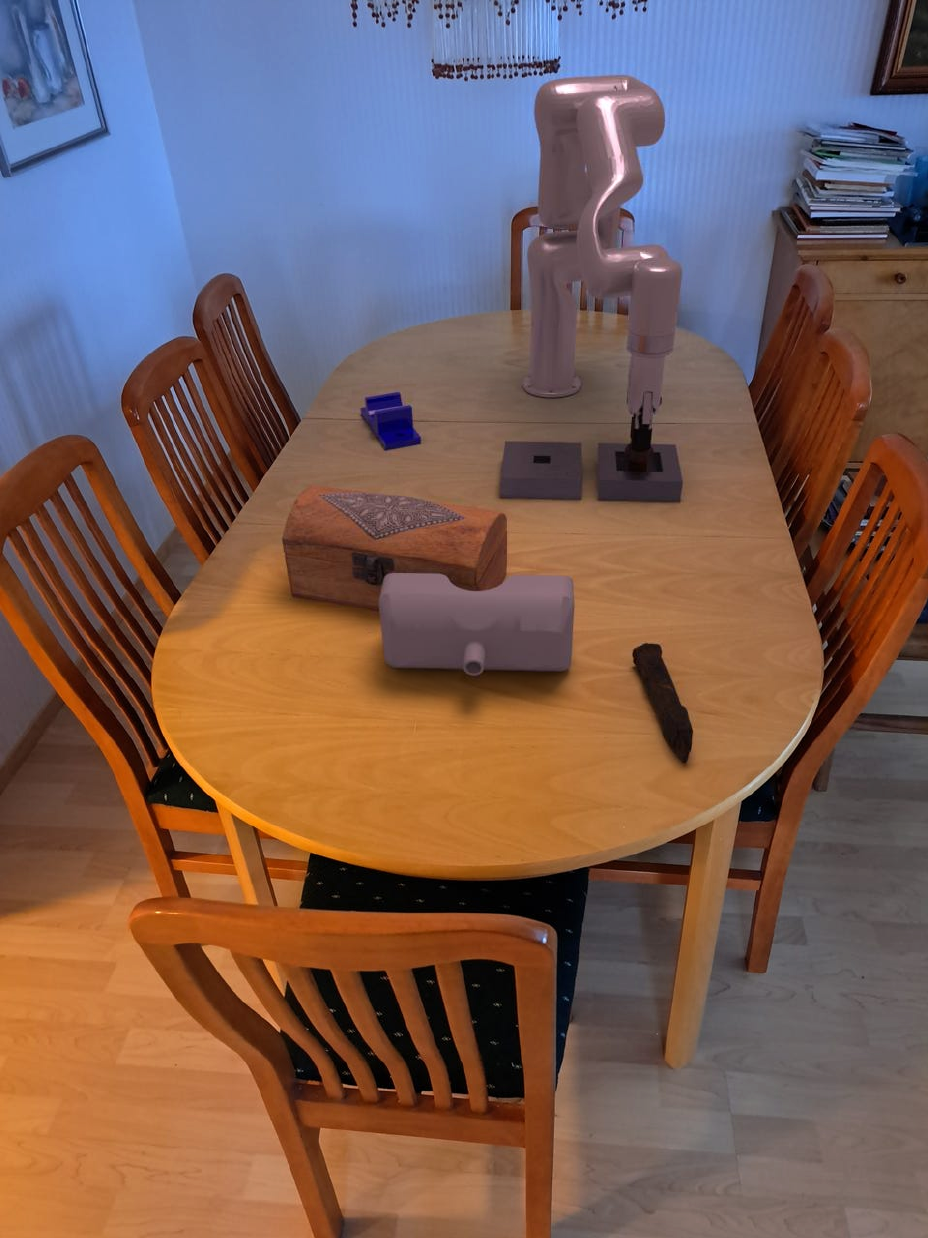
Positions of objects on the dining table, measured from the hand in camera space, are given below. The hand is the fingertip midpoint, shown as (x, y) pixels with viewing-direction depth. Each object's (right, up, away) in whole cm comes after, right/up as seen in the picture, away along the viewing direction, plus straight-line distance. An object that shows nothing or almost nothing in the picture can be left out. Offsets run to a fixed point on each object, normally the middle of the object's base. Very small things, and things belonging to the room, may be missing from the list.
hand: (640, 442), depth 156 cm
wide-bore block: (0, -6, +4) cm, 8 cm away
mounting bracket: (-46, +7, +25) cm, 52 cm away
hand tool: (-5, -43, -43) cm, 60 cm away
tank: (-29, -37, -34) cm, 58 cm away
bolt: (0, -5, +4) cm, 6 cm away
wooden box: (-41, -26, -19) cm, 52 cm away
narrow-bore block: (-17, -6, +6) cm, 19 cm away
